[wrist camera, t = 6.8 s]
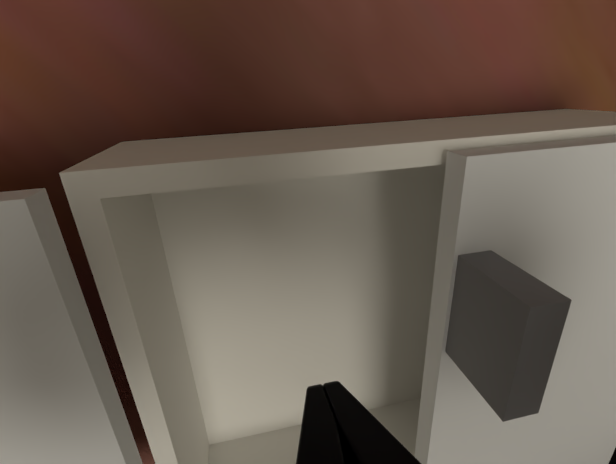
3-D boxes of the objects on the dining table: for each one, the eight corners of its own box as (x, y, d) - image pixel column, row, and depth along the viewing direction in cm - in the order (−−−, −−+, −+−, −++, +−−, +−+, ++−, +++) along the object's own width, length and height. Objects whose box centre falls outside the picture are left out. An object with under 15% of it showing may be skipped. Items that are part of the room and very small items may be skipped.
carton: (504, 379, 26) (578, 457, 20) (199, 447, 22) (188, 564, 17) (566, 108, 18) (708, 117, 13) (122, 141, 15) (58, 173, 9)
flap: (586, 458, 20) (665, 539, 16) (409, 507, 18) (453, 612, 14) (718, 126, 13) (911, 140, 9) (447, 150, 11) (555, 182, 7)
